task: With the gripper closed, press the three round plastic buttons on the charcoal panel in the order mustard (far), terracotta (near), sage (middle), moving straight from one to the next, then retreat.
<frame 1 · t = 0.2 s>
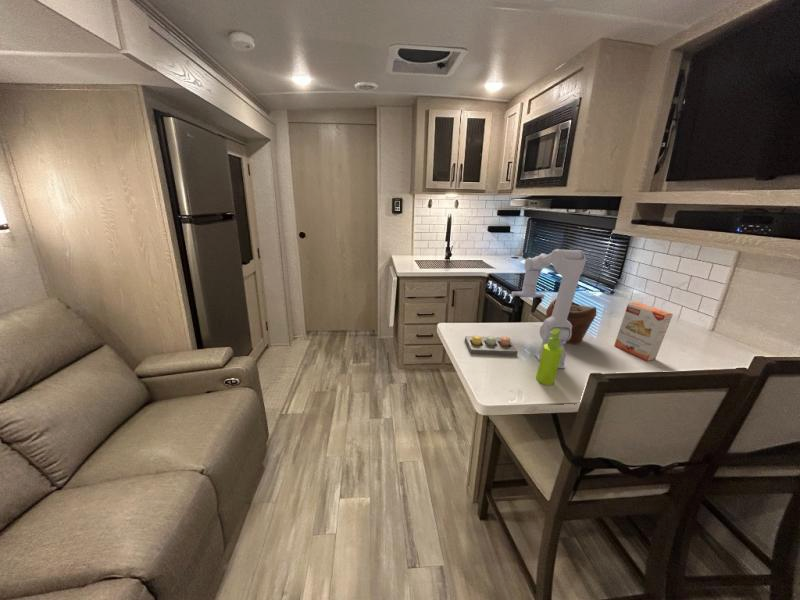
hand: (524, 311, 143), 10 cm above the countertop, tool pointing down, fingers open, 7 cm apart
panel: (489, 347, 128), on the countertop
soap dispenser: (544, 381, 107), on the countertop
button far: (476, 340, 127), point 3 cm above the countertop, slide at 0.0 cm
button mid: (490, 341, 127), point 3 cm above the countertop, slide at 0.0 cm
button near: (504, 341, 127), point 3 cm above the countertop, slide at 0.0 cm
brown basket: (564, 337, 141), on the countertop
cracker box: (633, 353, 130), on the countertop
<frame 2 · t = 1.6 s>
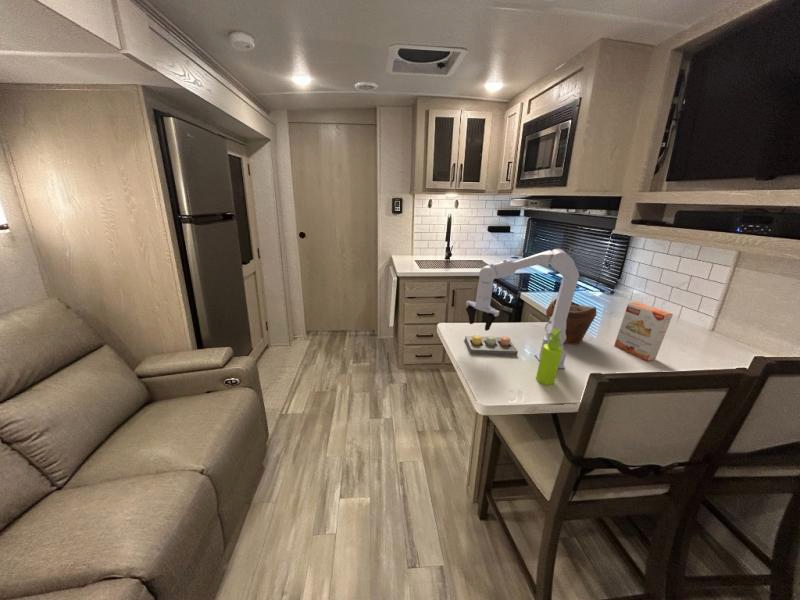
hand: (479, 326, 125), 9 cm above the countertop, tool pointing down, fingers open, 7 cm apart
nothing on the countertop moved.
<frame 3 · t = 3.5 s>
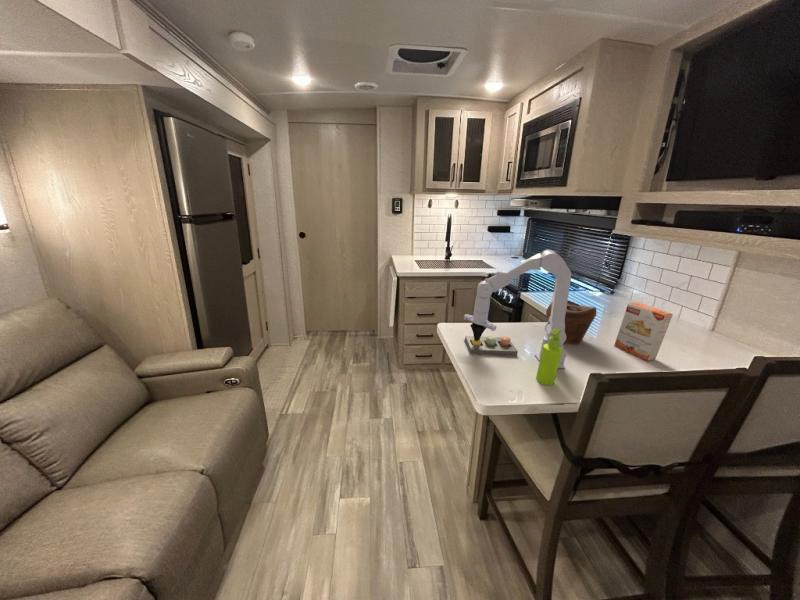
hand: (476, 340, 127), 3 cm above the countertop, tool pointing down, fingers closed, pressing on button far
button far: (476, 343, 128), point 2 cm above the countertop, slide at 1.2 cm, touching gripper
everything else where it was.
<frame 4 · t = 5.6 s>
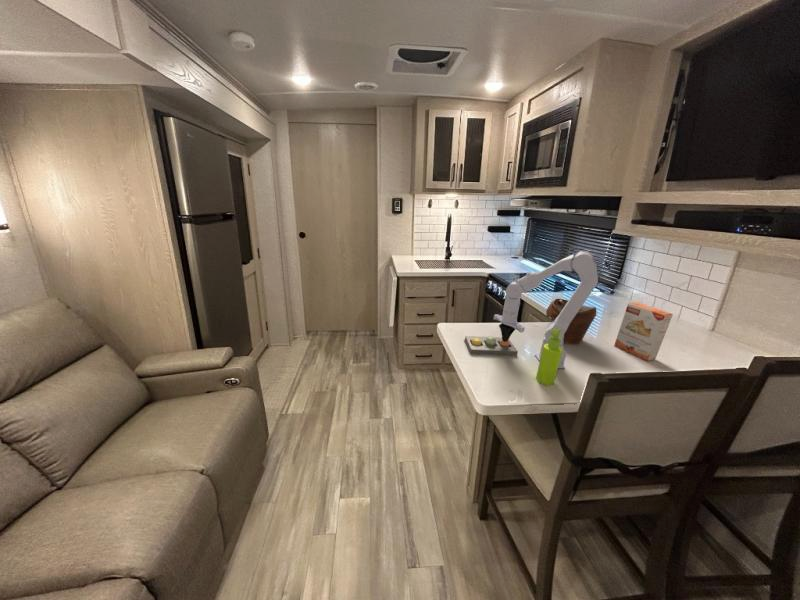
hand: (505, 340, 127), 4 cm above the countertop, tool pointing down, fingers closed, pressing on button near
button far: (476, 343, 128), point 2 cm above the countertop, slide at 1.3 cm
button near: (504, 343, 128), point 2 cm above the countertop, slide at 0.9 cm, touching gripper
everything else where it was.
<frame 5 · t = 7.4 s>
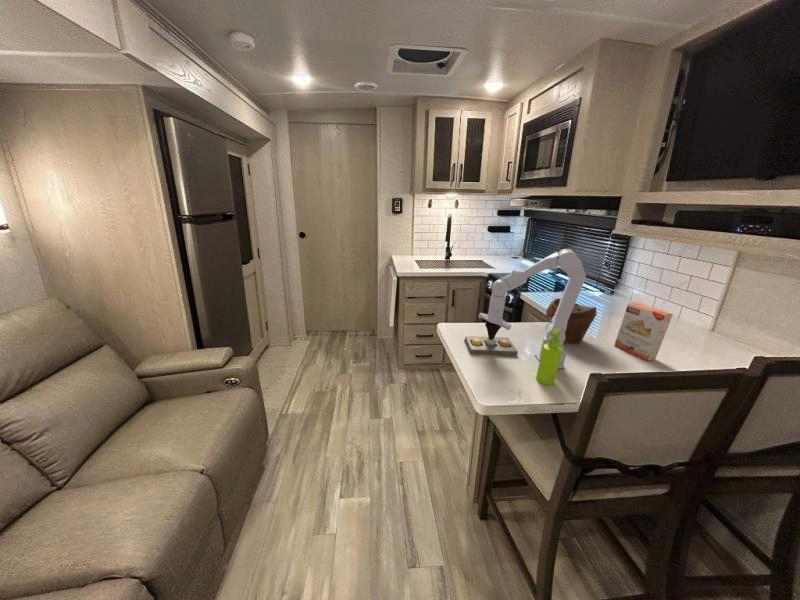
hand: (491, 338, 127), 4 cm above the countertop, tool pointing down, fingers closed, pressing on button mid
button mid: (490, 341, 128), point 3 cm above the countertop, slide at 0.4 cm, touching gripper
button near: (504, 344, 128), point 2 cm above the countertop, slide at 1.3 cm
everything else where it was.
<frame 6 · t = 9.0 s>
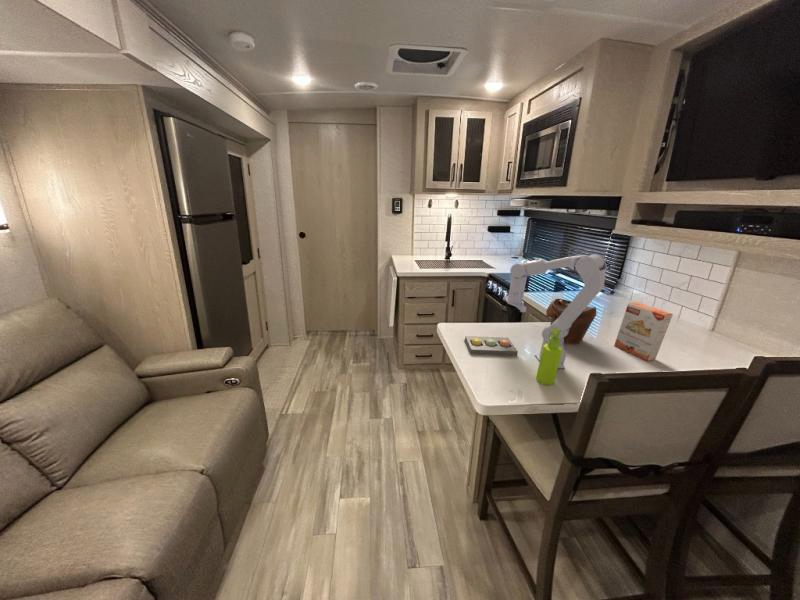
hand: (510, 321, 130), 10 cm above the countertop, tool pointing down, fingers closed
button mid: (490, 343, 128), point 2 cm above the countertop, slide at 1.3 cm
everything else where it was.
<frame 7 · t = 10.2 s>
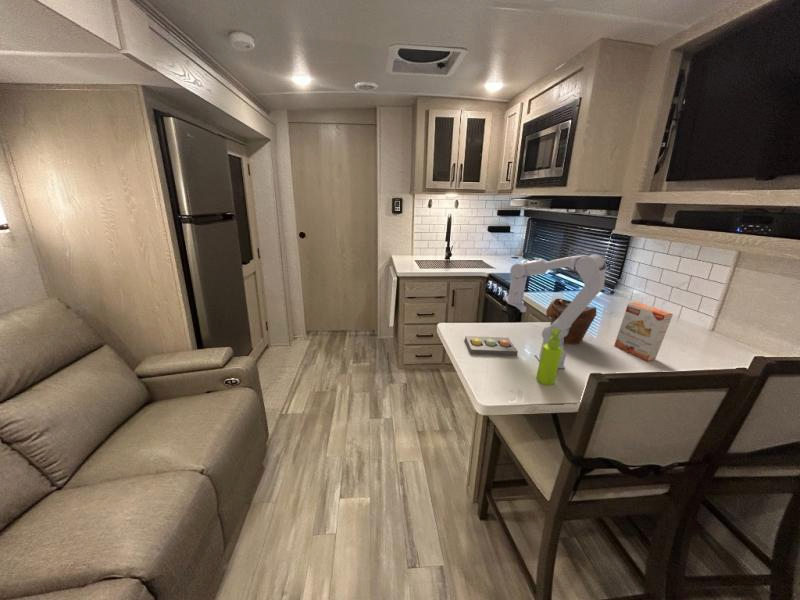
hand: (510, 321, 130), 10 cm above the countertop, tool pointing down, fingers closed
nothing on the countertop moved.
at the end: button far slide at 1.3 cm; button near slide at 1.3 cm; button mid slide at 1.3 cm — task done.
